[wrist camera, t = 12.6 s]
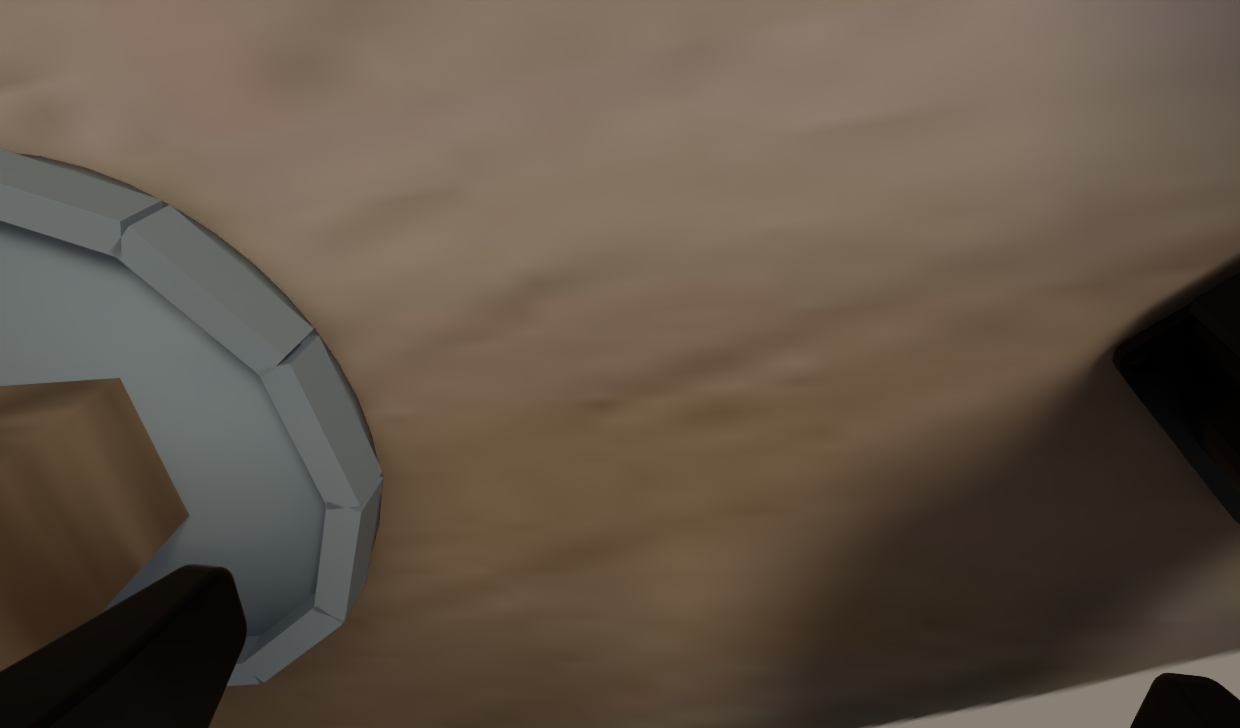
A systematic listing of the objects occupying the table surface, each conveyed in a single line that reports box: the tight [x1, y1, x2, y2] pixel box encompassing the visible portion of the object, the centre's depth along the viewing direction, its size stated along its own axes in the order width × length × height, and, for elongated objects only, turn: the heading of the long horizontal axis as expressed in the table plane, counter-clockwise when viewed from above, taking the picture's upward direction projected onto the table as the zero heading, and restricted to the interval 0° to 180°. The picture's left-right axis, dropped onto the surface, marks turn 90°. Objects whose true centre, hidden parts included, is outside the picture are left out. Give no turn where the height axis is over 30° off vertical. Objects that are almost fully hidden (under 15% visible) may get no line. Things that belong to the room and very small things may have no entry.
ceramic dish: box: [0, 149, 383, 686], centre depth 24 cm, size 18×18×2 cm
